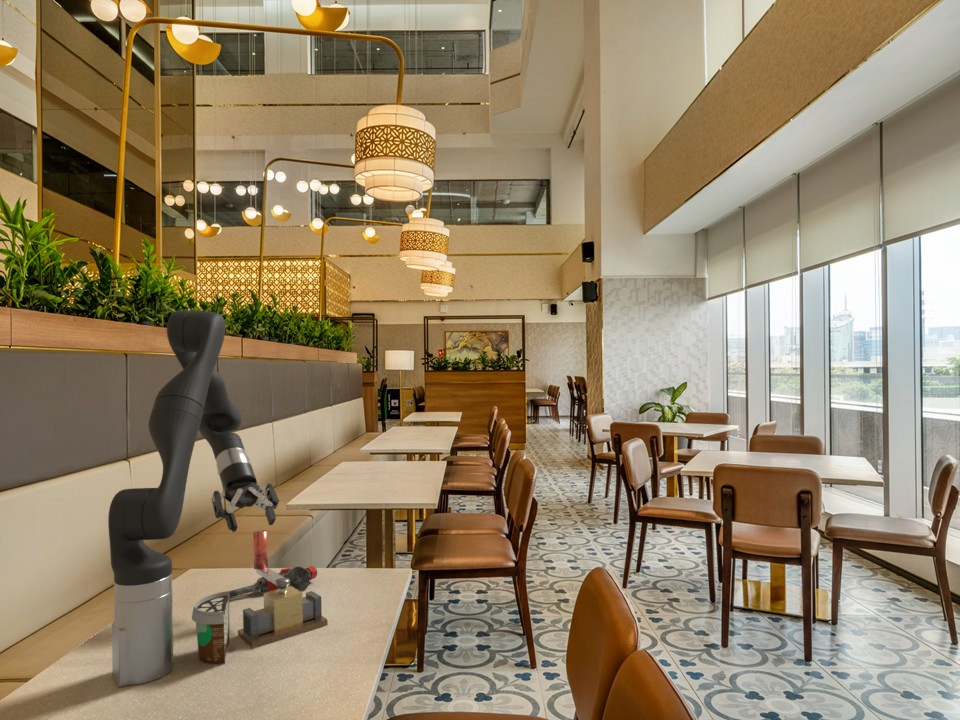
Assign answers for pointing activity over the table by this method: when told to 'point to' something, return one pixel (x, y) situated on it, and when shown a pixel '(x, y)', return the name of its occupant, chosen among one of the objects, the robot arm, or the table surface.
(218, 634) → the food container
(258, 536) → the lever
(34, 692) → the table surface
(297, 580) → the valve
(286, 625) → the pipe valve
